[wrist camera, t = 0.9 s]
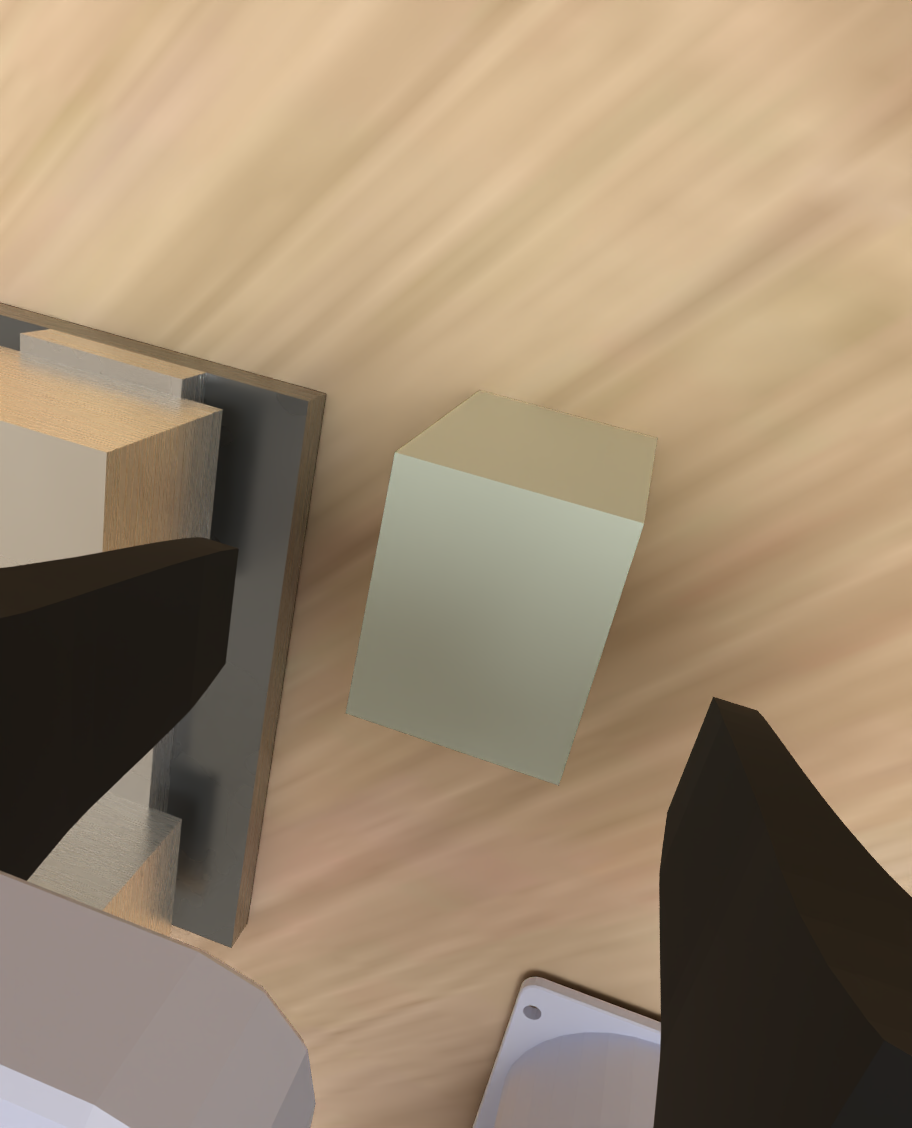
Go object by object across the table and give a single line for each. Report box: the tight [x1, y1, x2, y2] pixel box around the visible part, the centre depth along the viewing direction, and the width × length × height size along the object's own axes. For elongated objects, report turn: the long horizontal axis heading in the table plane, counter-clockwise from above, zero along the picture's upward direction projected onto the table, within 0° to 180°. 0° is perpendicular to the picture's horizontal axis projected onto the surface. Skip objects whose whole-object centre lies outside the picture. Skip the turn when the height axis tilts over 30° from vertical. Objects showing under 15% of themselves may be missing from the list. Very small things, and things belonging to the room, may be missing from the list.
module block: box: [346, 390, 658, 785], centre depth 17 cm, size 5×4×6 cm
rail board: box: [0, 303, 326, 948], centre depth 21 cm, size 17×9×6 cm, turn 167°
